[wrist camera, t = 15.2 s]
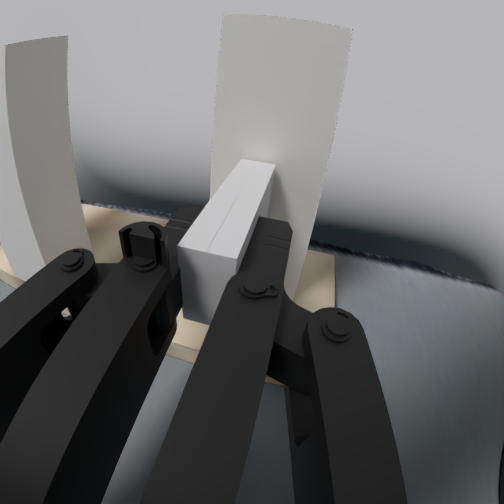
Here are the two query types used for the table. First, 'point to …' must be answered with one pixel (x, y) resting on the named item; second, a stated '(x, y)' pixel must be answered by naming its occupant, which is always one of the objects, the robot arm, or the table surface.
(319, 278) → the key base
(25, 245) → the white tall block
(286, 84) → the tile
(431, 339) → the table surface
